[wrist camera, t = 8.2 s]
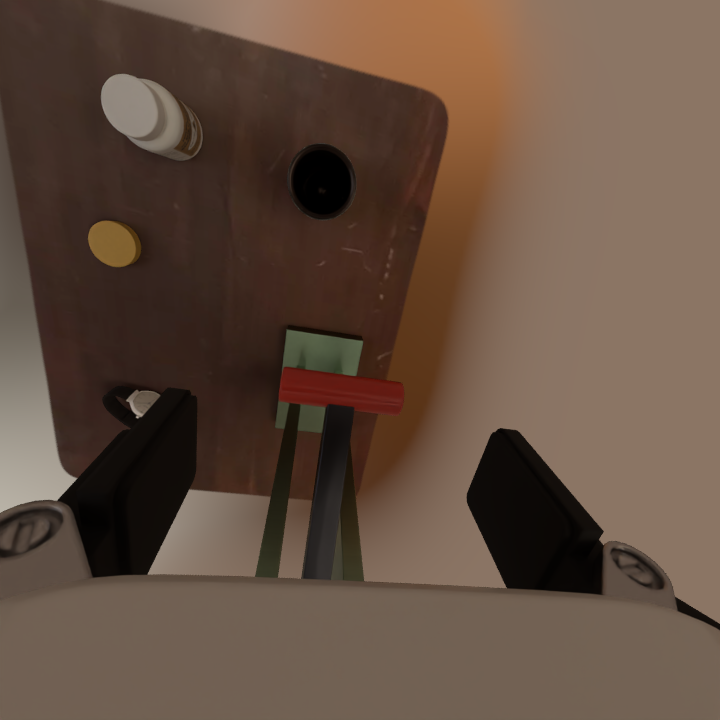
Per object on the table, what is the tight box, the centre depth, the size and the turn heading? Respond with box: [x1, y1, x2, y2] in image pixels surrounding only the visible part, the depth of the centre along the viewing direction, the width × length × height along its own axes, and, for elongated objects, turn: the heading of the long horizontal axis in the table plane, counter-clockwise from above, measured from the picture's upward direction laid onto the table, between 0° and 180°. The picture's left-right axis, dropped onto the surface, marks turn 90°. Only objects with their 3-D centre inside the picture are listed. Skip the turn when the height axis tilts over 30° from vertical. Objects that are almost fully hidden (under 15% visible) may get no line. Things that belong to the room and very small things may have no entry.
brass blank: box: [88, 221, 141, 267], centre depth 32 cm, size 4×4×1 cm
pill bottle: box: [101, 74, 203, 161], centre depth 26 cm, size 4×4×8 cm
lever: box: [279, 367, 404, 580], centre depth 14 cm, size 14×5×2 cm, turn 169°
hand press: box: [255, 325, 364, 581], centre depth 26 cm, size 12×8×30 cm, turn 169°
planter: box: [287, 143, 356, 220], centre depth 27 cm, size 4×4×10 cm
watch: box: [102, 386, 160, 428], centre depth 37 cm, size 8×5×4 cm, turn 48°
